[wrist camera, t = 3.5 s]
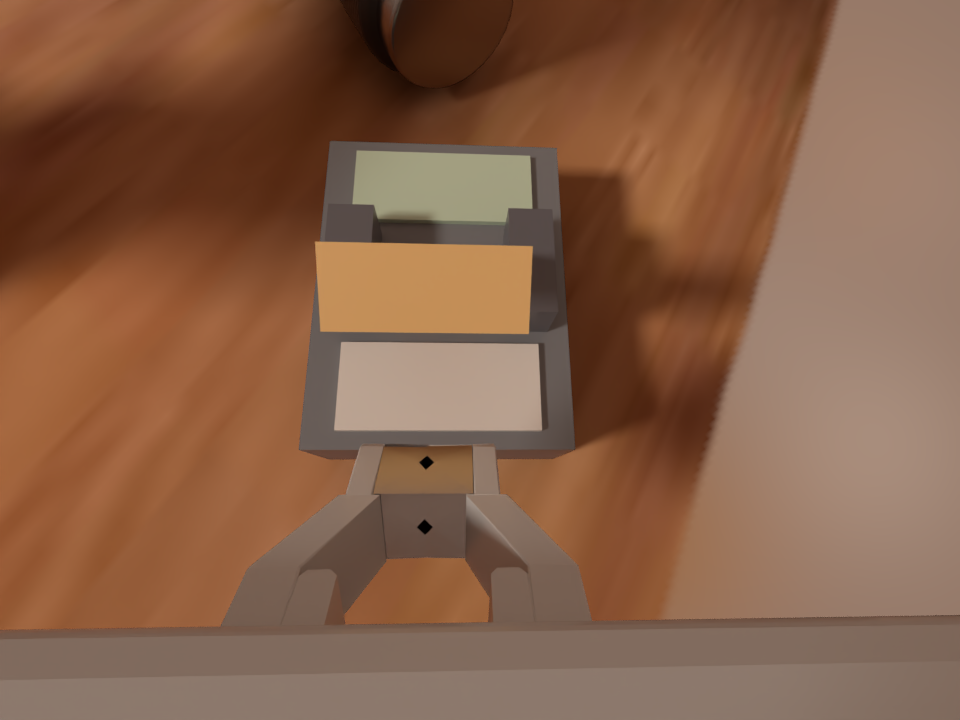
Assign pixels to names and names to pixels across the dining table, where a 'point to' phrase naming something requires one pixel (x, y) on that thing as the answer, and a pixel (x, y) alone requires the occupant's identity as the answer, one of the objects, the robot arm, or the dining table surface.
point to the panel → (444, 356)
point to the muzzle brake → (431, 35)
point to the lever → (423, 288)
